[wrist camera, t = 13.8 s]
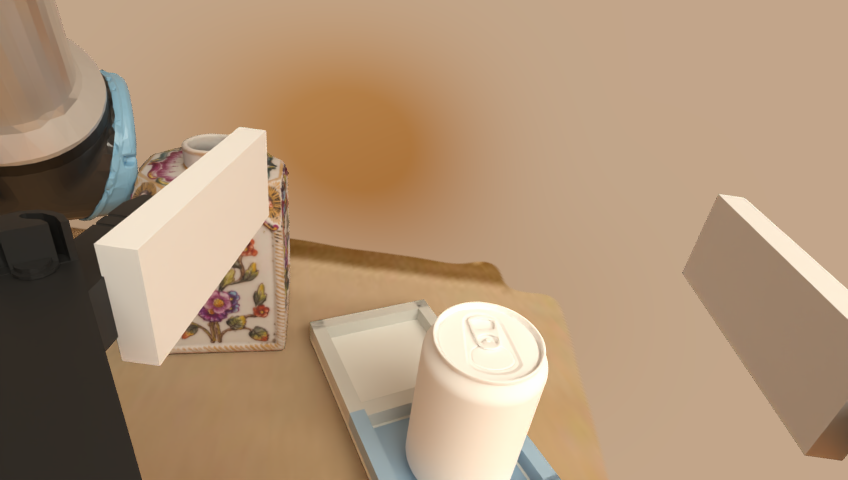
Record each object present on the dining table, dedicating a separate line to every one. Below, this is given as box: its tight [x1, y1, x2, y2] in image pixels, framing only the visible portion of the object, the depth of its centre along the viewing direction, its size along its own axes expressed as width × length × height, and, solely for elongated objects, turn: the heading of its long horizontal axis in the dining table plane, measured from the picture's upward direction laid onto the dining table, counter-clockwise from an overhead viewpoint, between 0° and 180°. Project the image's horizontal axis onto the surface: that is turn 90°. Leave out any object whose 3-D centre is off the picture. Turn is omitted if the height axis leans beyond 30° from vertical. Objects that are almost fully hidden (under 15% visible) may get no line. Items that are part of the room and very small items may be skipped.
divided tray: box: [310, 299, 561, 480], centre depth 42 cm, size 23×12×2 cm, turn 26°
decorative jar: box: [130, 134, 290, 354], centre depth 46 cm, size 12×12×18 cm
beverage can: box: [405, 302, 548, 480], centre depth 35 cm, size 8×8×12 cm
